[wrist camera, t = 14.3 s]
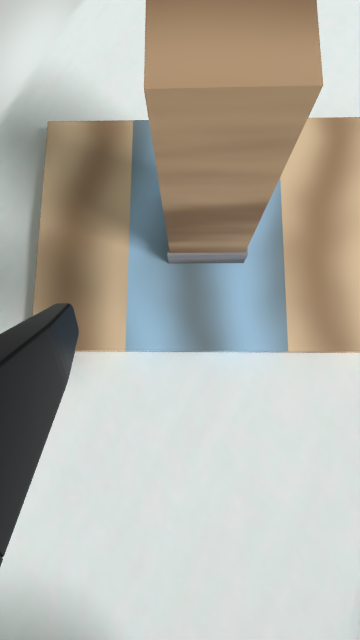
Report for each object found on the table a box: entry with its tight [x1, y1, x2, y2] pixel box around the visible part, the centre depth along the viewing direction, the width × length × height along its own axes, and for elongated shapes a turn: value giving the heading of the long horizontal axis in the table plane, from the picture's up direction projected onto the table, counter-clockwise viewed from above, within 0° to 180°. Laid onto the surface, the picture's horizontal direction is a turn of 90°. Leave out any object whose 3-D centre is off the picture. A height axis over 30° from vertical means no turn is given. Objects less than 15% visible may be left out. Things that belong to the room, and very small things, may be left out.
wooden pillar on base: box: [144, 0, 323, 264], centre depth 15 cm, size 5×5×13 cm
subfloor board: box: [32, 117, 360, 353], centre depth 22 cm, size 22×16×1 cm
